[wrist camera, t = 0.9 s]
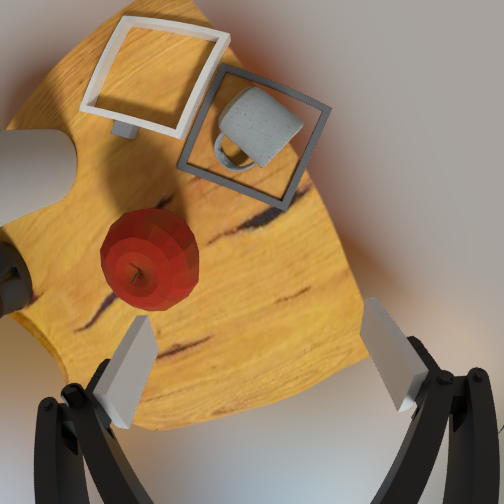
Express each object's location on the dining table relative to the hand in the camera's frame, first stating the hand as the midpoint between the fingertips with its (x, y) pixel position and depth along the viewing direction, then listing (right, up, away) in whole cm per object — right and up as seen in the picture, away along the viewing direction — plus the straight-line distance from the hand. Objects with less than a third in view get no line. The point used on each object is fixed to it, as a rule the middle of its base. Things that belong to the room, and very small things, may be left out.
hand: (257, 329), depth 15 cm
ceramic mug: (0, +20, +18) cm, 27 cm away
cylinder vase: (-33, +19, +18) cm, 42 cm away
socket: (-14, +29, +14) cm, 36 cm away
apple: (-12, +7, +23) cm, 27 cm away
